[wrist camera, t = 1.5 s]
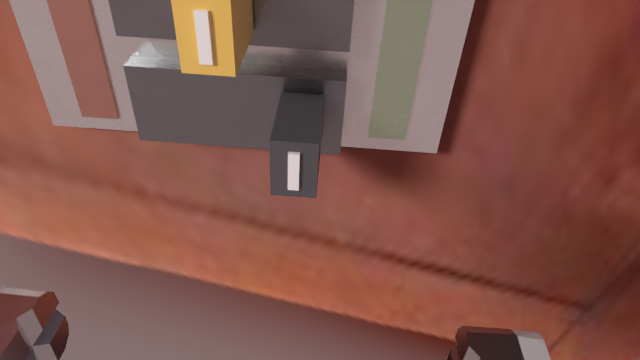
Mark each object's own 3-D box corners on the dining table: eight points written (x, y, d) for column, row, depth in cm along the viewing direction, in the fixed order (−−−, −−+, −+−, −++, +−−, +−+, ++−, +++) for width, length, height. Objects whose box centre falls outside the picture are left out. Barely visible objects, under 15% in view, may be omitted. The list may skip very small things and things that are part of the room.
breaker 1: (200, -41, 24) (168, -6, 20) (250, -37, 24) (229, -2, 20) (207, 30, 26) (180, 75, 22) (253, 33, 26) (234, 79, 22)
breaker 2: (281, 92, 28) (269, 142, 24) (324, 94, 28) (318, 146, 24) (281, 142, 30) (270, 197, 26) (321, 145, 30) (315, 200, 26)
